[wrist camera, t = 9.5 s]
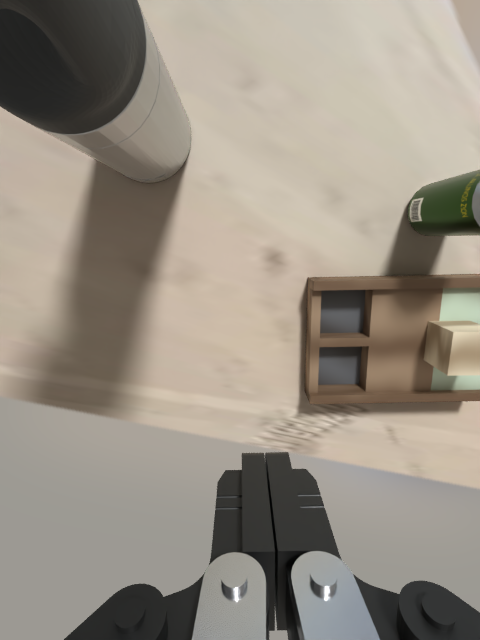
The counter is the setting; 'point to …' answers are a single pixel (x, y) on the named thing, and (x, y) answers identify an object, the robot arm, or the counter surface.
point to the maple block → (453, 347)
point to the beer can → (447, 207)
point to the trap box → (384, 338)
